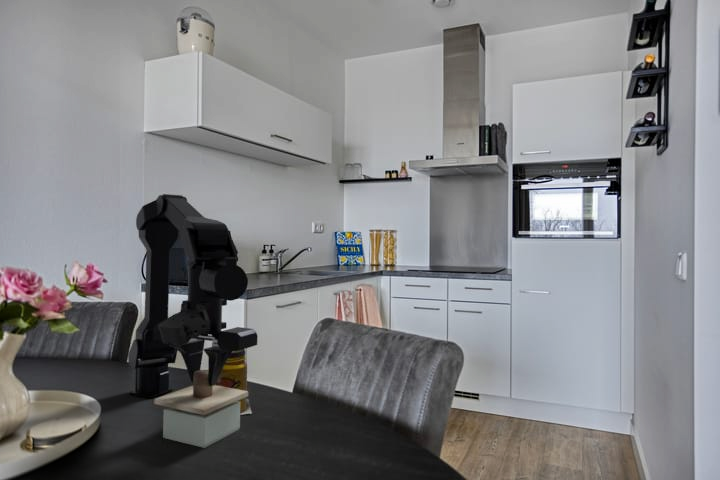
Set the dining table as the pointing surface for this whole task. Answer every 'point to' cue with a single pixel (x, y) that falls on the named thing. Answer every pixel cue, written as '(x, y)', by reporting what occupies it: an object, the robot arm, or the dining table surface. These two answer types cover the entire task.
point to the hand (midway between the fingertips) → (203, 384)
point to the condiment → (236, 377)
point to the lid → (201, 396)
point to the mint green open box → (201, 425)
